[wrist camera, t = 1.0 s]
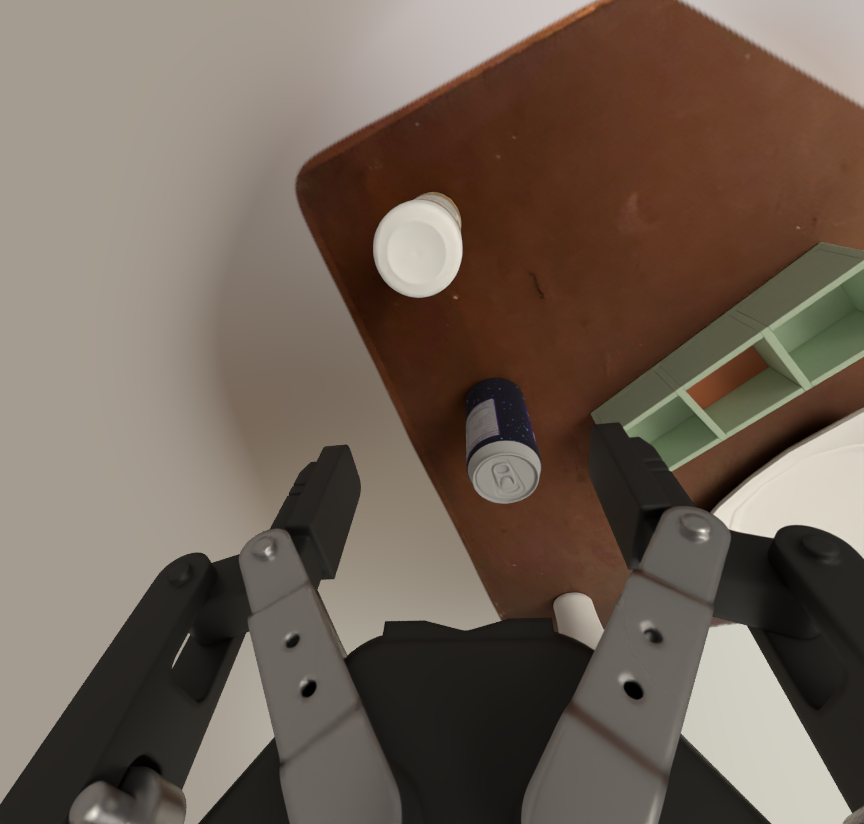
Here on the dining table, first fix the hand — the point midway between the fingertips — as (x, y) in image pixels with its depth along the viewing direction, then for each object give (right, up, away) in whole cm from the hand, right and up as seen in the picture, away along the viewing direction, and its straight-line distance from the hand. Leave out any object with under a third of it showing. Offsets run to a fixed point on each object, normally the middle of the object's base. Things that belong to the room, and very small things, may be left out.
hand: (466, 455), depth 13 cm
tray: (+25, +6, +22) cm, 34 cm away
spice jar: (-1, +17, +18) cm, 24 cm away
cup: (+20, -26, +43) cm, 54 cm away
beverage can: (+5, +3, +26) cm, 27 cm away
